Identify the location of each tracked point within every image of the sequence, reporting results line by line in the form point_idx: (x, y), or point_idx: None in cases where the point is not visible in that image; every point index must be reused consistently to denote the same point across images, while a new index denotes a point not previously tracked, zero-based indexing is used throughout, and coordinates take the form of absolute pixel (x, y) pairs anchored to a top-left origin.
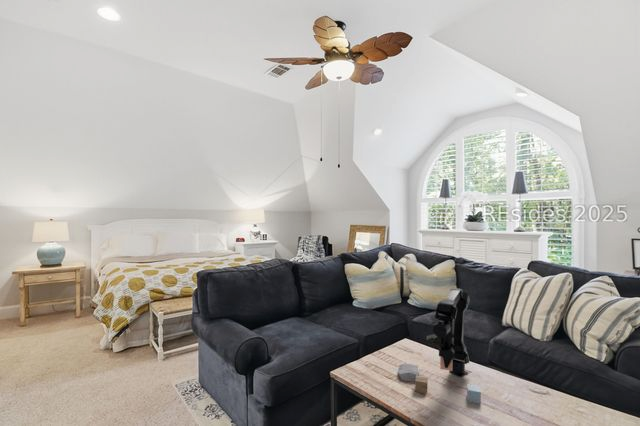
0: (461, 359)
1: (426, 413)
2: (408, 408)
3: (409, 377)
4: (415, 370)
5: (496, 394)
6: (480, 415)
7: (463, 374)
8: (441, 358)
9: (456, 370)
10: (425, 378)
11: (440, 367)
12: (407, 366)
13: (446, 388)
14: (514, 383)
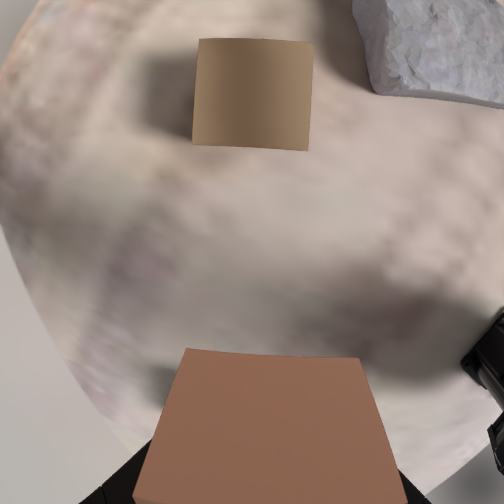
0: (502, 434)
1: (18, 161)
2: (31, 68)
3: (371, 20)
4: (439, 62)
5: None
6: (113, 397)
7: (471, 375)
8: (142, 495)
9: (486, 359)
10: (274, 129)
11: (182, 362)
12: (485, 25)
13: (324, 285)
14: None
